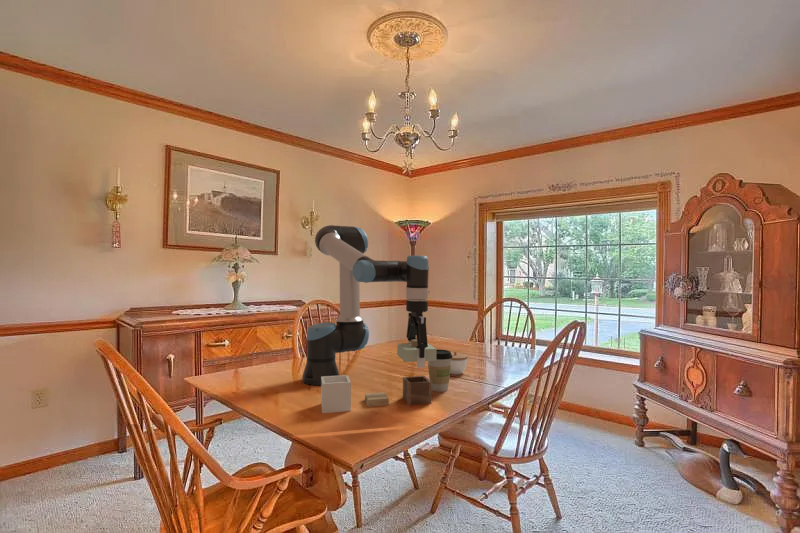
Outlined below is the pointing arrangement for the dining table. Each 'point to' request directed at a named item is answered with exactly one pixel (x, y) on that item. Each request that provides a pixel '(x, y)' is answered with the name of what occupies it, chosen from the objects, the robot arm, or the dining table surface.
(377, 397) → the oak stand
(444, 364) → the coffee cup
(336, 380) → the planter
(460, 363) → the lidded jar
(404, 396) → the walnut box
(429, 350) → the lid
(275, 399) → the dining table surface
